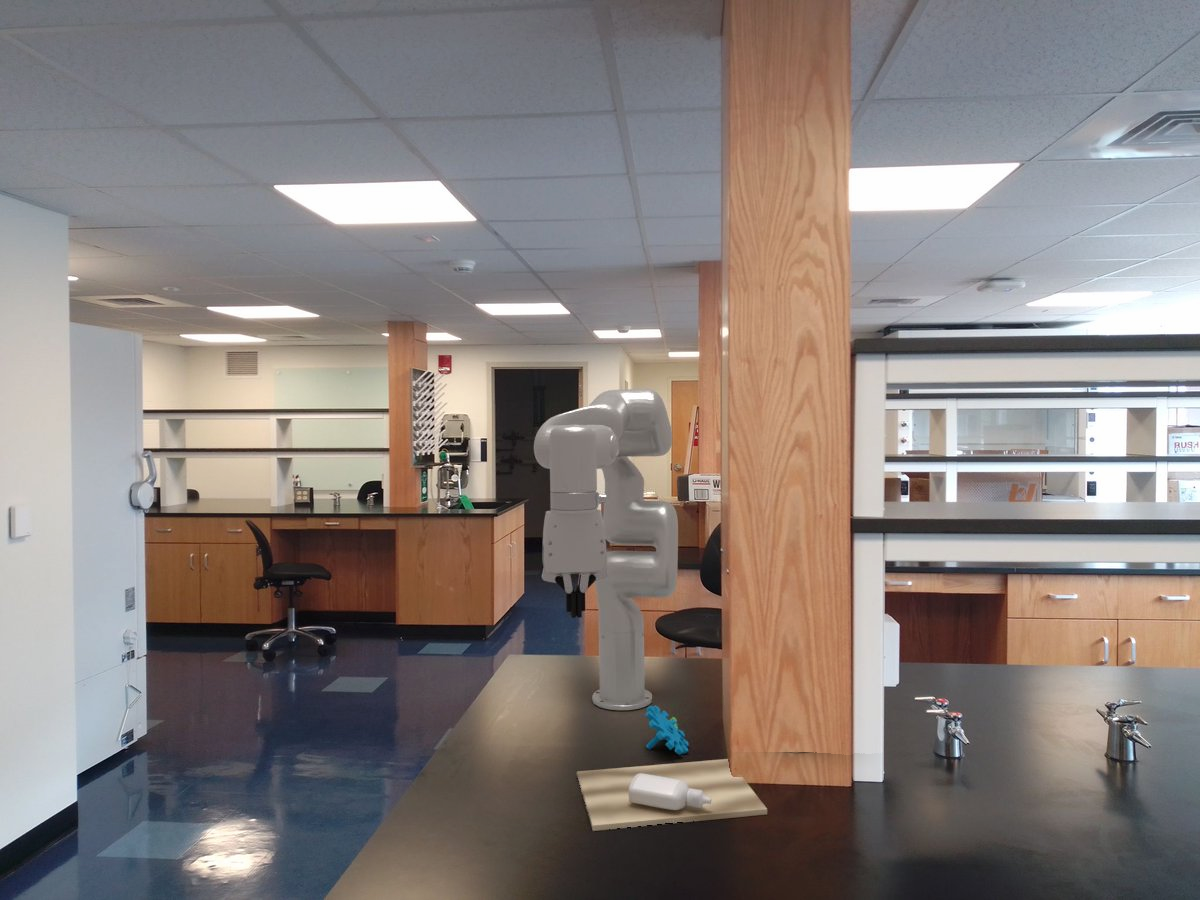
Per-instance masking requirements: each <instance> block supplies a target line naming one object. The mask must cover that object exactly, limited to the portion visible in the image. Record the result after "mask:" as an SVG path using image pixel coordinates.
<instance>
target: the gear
mask: <svg viewBox="0 0 1200 900" xmlns="http://www.w3.org/2000/svg"><path fill="white" fill-rule="evenodd" d="M646 711H647V712H646V713H645V717H646V718H647V719H648V720H649V722H648V724H649V727H650V728H651V729H652V730H656V731H657V732H656V736H654V737H653V738H652V739H651V740H650V741H649V742H648V743H647V744H646V745H645V746H646V748H647V749H648V750H649V751H651V750H652V749H653V748H654V747H655V746H656V745H657V744H658V743H659V742H660V741H664V740H666V741H667V742H666V743H665V746H666V747H667V748H668V749H669V750H670V751H671V750H673V749H674V752H675V753H676V754H678V756H681V755H682V754H683V755H686V754H687V753H688V752H689V749H688V746H690V745H689V742H688V740H686V739H685V737H686V736H685V732H684V730H680V729H679V727H678V725H679V724H678V723H677V721H678V720H677V718H676V717H674V716H672V718H670V719H668V717H669V714H668V712H667V711H665V710H663V711H662V712H661V708H660V707H658V706H657V705H648V707H647V708H646ZM660 712H661V713H660Z"/></svg>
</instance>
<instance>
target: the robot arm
mask: <svg viewBox="0 0 1200 900" xmlns="http://www.w3.org/2000/svg"><path fill="white" fill-rule="evenodd" d="M672 442H673V432H672V425H671V422H670V419H669V415H668V411H667V408H666V406H665V402H664V400H663V398H662V397H661V395H660V394H659V393H658V392H657V391H656V390H654V389H650V388H638V389H637V388H636V389H635V388H633V389H632V388H631V389H629V388H627V389H611V390H610V389H609V390H605V391H603V392H601V393H599V394H598V395H597V396H596V397H595V398H594V399H593V401H591V402H590V403H589V404H588V405H587V406H583V407H579V408H576V409H573V410H570V411H566V412H563V413H559V414H556V415H554V416H552V417H550V418H548V419H547V420H546V421H545V422H544V423H542V425H541V426H540V427H539V429H537V432H536V435H535V437H534V441H533V453H534V456H535V459H536V462H537V463H538V464H539V465H540V466H541V467H543V468H544V469H548V470H549V481H550V484H549V485H550V490H549V492H550V494H549V495H550V499H549V500H550V510H547V511H545V515H544V519H543V521H544V522H543V529H542V530H543V531H542V566H543V569H542V574H541V579H542V581H544V582H548V583H554V584H557V585H558V586H559V587H561V589H562V590H563V591H564V592H565V612H567V613H569V615H570V618H571V619H576V618H579V619H580V618H582V617H583V614H582V613H583V612H586V592H588V589H589V588H590V587H592V585H593V584H594V587H595V591H596V599H597V608H598V609H597V611H598V613H597V614H598V617H597V618H598V663H599V664H598V666H599V667H598V668H599V670H598V671H599V674H598V675H599V689H598V690H596V691H594V692H593V694H592V698H591V699H592V703H593V704H594V705H595V706H597V707H599V708H601V709H605V710H610V711H611V710H612V711H633V710H634V711H635V710H639V709H644V708H645V707H647V706H648V707H649V706H650V705H651V703H652V701H653V694H652V692H651V691H649V690H647V689H646V687H645V686H646V685H645V684H646V683H645V681H646V680H645V679H646V678H645V676H646V675H645V621H644V620H645V619H644V616H643V612H642V611H641V608H640V607H639V606H638V605H637V603H636V602H635V601H634V599H633V598H647V599H648V598H651V599H652V598H653V599H663V598H664V599H665V598H669V597H671V596H673V595H674V593H675V592H676V589H677V584H678V565H679V564H678V562H679V561H678V559H679V556H678V555H679V554H678V553H679V521H678V515H677V511H676V508H675V506H674V505H673V504H671V503H670V502H668V501H664V500H645V498H644V497H645V496H644V495H645V493H644V492H645V479H644V476H643V475H642V472H641V471H640V470H639V468H638V466H636V465H635V463H634V462H632V461H631V459H629V457H630V458H631V457H635V458H637V457H661V456H665V455H666V454H667V453H669V452H670V450H671V447H672V444H673V443H672ZM598 470H601V472H602V474H603V479H604V494H602V493H599V491H598V481H597V480H598V478H597V477H598V476H597V474H598V472H597V471H598ZM602 504H603V512H602V511H601V509H598V508H599V505H602ZM602 513H603V514H602ZM606 541H607V542H608V543H610V544H614V545H619V546H651V547H654V548H655V549H656V550H655V551H650V550H649V551H646V550H645V551H641V550H610V551H608V550H607V542H606ZM573 574H574V575H575V574H576V575H578V581H577V586H576V589H575V588H574V587H573V583H572V577H571V575H573Z"/></svg>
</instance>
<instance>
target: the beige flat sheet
mask: <svg viewBox="0 0 1200 900" xmlns="http://www.w3.org/2000/svg"><path fill="white" fill-rule="evenodd" d="M728 759H729V758H723V759H712V760H700V761H688V762H676V763H662V764H654V765H653V764H652V765H640V766H638V765H637V766H629V767H627V766H626V767H617V768H615V767H614V768H604V769H593V770H579V771H576V778H578V779H577V782H578V781H579V782H578V786H579V785H580V786H579V788H581V789H580V792H581V795H583V796H582V799H583V802H585V803H584V806H585V805H586V806H585V809H586V813H587V812H588V813H587V816H588V820H589V823H590V826H591V829H592V832H595V831H607V830H609V829H610V830H618V829H617V828H620V829H628V828H627V827H631V828H639V827H638V826H641V827H648V826H647V825H652V826H658V825H657V824H662V825H666V824H665V823H673V824H678V823H677V822H683V823H692V822H693V821H694V822H701V821H711V820H722V819H732V818H734V819H735V818H744V817H754V816H764V815H768V808H767V807H766V805H765V804H764V803H763V802H762V801H761V799H760V798H759V796H758V795H757V793H755V791H754V790H753V789H752V787H751V786H750V785H749V783H748V782H747V781H746V779H745V778H744V777H743V776H742V777H733V776H732V775H731V772H730V768H729V762H728ZM639 773H643V774H649V775H655V776H661V777H667V778H672V779H678V780H683V781H685V782H686V783H687V784H688V787H689V788H691V789H697V790H702V791H703V793H704V795H705V796H706V797H709V798H711V804H703V806H702V807H701V808H697V807H691V806H688V805H686V806H685V807H684V808H682V809H680V810H669V809H663V808H658V807H652V806H647V805H642V804H636V803H631V802H630V801H629V786H630V783H631V781H632V779H633V778H634V777H635V776H636V775H637V774H639ZM610 830H609V831H610Z"/></svg>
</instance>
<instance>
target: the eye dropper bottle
mask: <svg viewBox="0 0 1200 900" xmlns="http://www.w3.org/2000/svg"><path fill="white" fill-rule="evenodd" d="M629 801H630V802H631V803H636V804H642V805H647V806H652V807H658V808H663V809H669V810H680V809H682V808H684V807H685V806H686V805H688V806H691V807H697V808H701V807H702V806H703V804H711V798H709V797H706V796H705V795H704V793H703V791H702V790H697V789H691V788H689V787H688V784H687V783H686V782H685V781H683V780H678V779H672V778H667V777H661V776H655V775H649V774H643V773H639V774H637V775H636V776H635V777H634V778H633V779H632V781H631V783H630V786H629Z"/></svg>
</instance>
